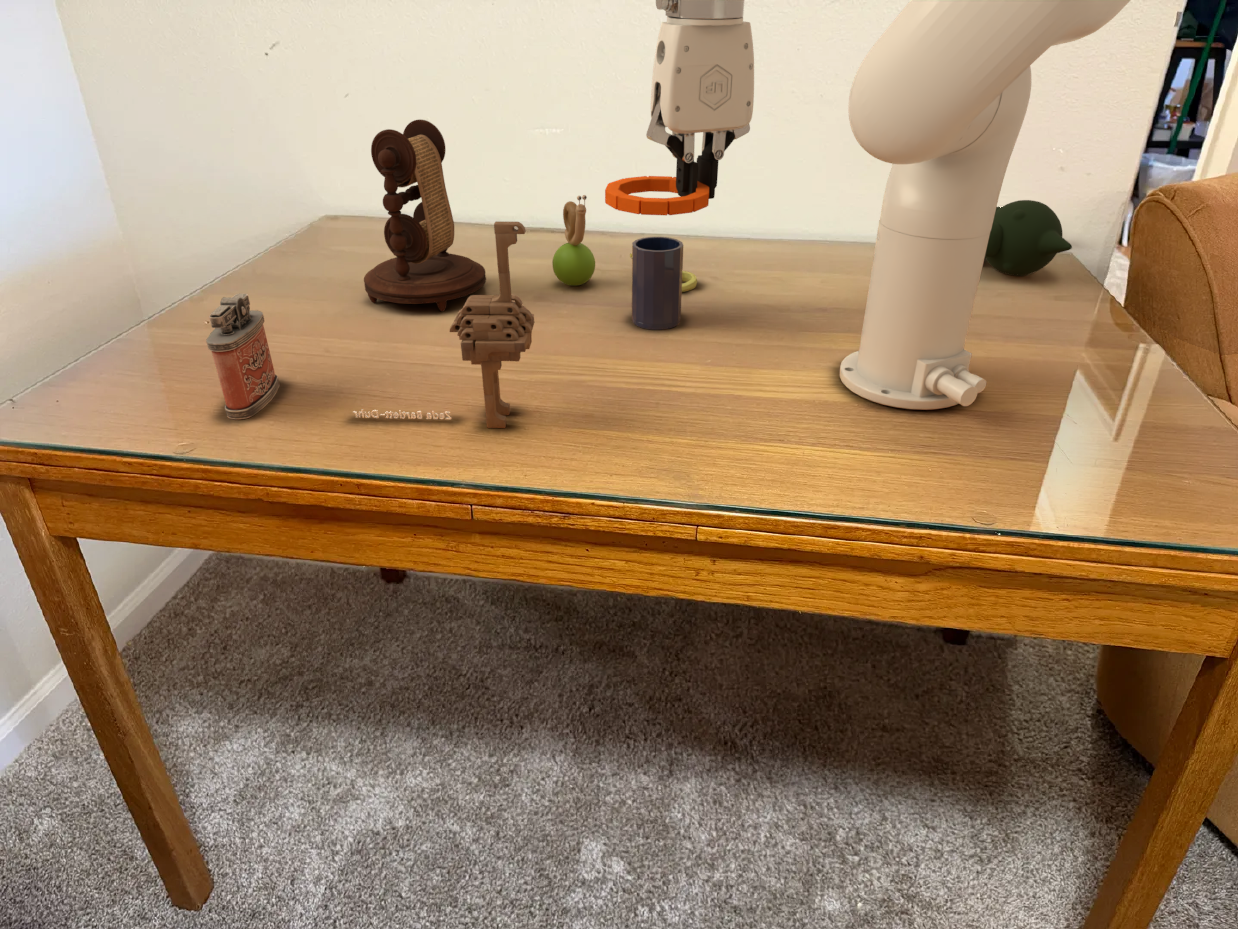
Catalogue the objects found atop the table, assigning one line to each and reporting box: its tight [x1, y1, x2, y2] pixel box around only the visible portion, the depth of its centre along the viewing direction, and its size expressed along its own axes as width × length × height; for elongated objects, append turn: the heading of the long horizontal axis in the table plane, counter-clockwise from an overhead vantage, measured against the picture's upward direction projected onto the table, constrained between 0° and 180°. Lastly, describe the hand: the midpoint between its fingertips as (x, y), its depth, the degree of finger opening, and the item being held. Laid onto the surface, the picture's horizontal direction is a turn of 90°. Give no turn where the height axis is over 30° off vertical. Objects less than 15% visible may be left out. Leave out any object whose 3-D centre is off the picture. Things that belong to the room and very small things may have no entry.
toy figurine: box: [984, 199, 1073, 277], centre depth 114 cm, size 9×19×25 cm
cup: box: [631, 236, 684, 331], centre depth 96 cm, size 6×6×9 cm
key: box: [629, 253, 698, 293], centre depth 109 cm, size 7×12×2 cm, turn 36°
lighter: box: [205, 292, 281, 420], centre depth 78 cm, size 8×3×10 cm, turn 178°
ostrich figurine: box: [352, 221, 535, 429], centre depth 73 cm, size 17×7×18 cm, turn 88°
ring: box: [604, 175, 710, 216], centre depth 91 cm, size 11×11×1 cm
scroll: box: [363, 119, 487, 312], centre depth 101 cm, size 15×15×20 cm
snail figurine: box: [551, 194, 596, 287], centre depth 105 cm, size 5×6×12 cm
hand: (695, 195), depth 93 cm, fingers closed on ring, 1 cm apart
